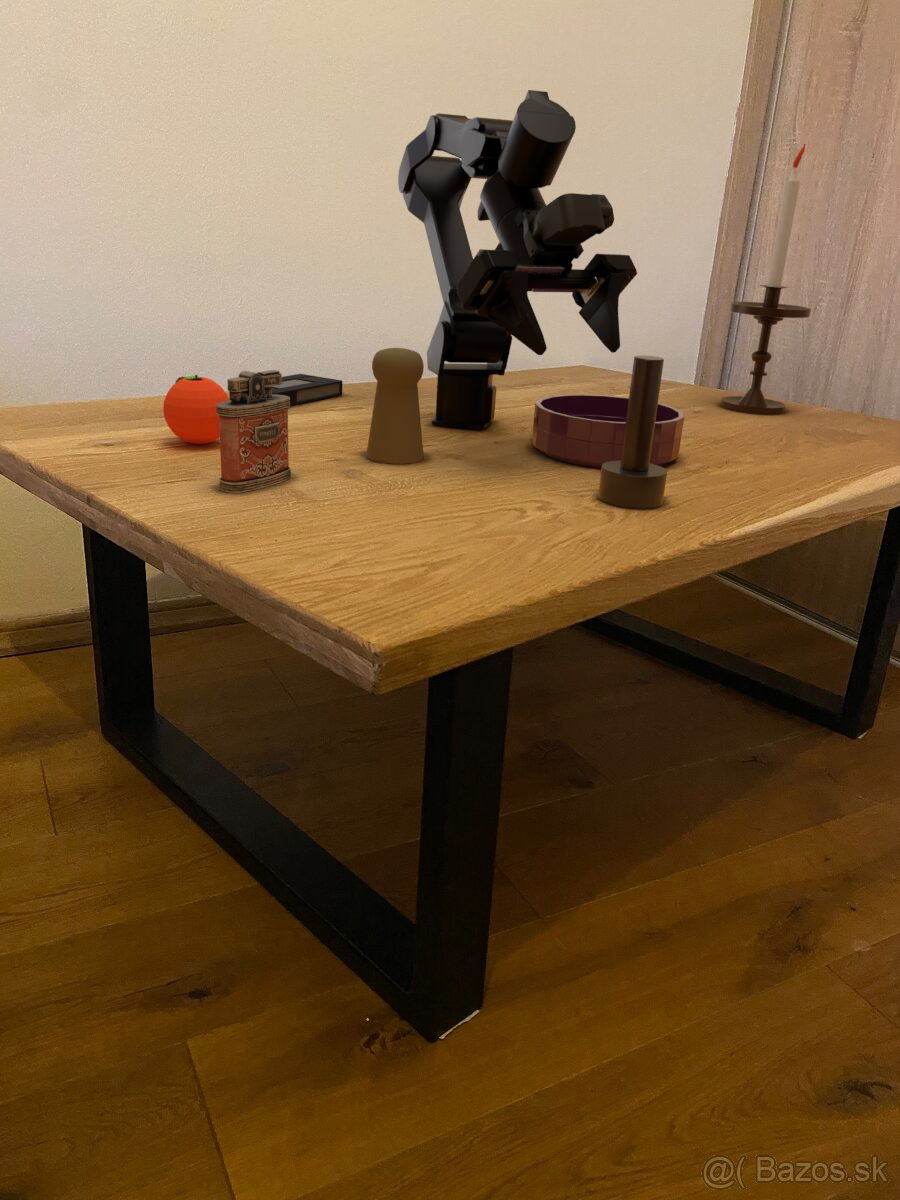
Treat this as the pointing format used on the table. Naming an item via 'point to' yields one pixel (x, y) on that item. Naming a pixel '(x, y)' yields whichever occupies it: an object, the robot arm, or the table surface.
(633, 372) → the bolt
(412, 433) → the cork
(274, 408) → the lighter
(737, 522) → the table surface
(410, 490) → the table surface
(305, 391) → the vhs tape
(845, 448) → the table surface
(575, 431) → the bowl
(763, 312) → the candlestick
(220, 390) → the clementine
